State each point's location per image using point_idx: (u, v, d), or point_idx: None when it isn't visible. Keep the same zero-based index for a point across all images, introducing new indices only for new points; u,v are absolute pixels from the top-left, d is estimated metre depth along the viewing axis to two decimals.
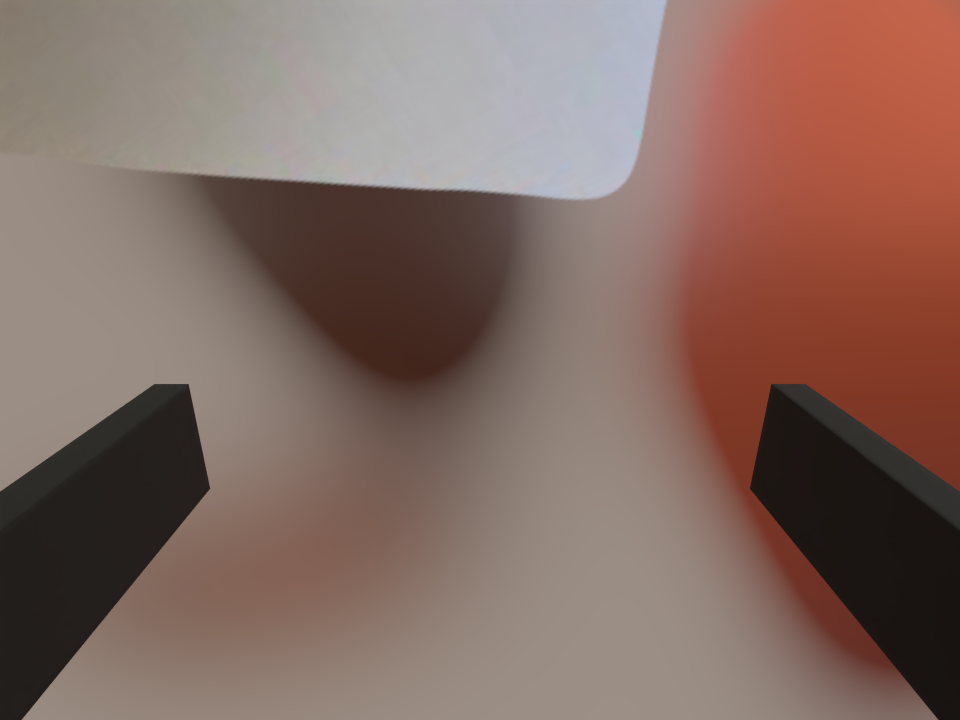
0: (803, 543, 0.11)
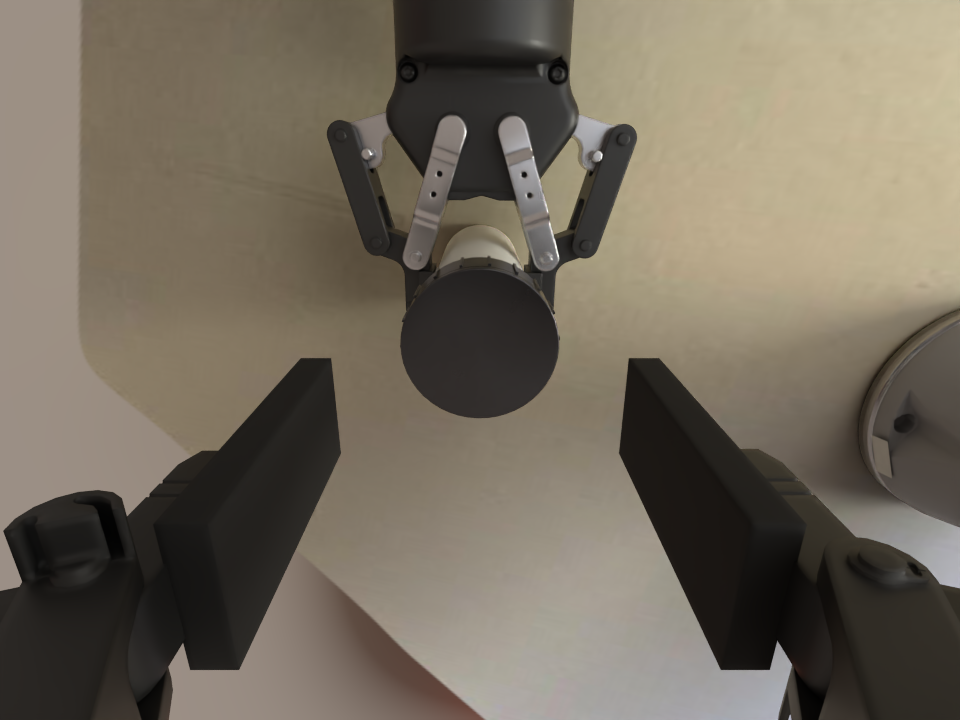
0: (642, 495, 0.12)
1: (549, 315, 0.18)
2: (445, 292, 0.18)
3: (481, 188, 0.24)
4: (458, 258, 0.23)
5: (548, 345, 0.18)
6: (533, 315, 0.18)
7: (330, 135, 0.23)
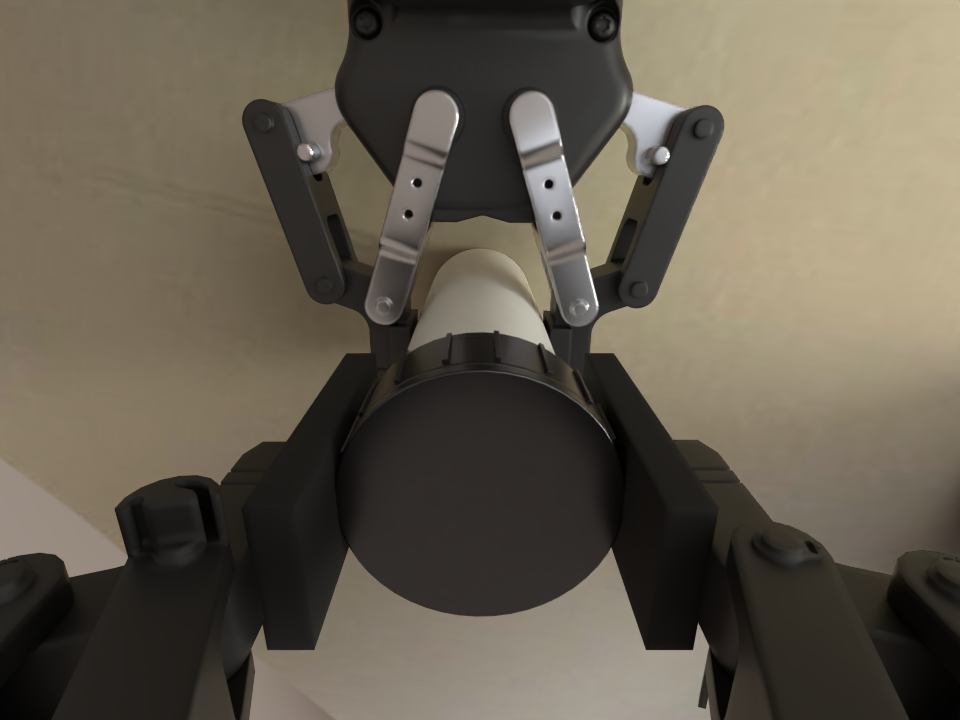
0: None
1: (610, 452, 0.10)
2: (415, 412, 0.09)
3: (482, 204, 0.16)
4: (446, 317, 0.14)
5: (606, 502, 0.10)
6: (580, 452, 0.10)
7: (247, 123, 0.15)
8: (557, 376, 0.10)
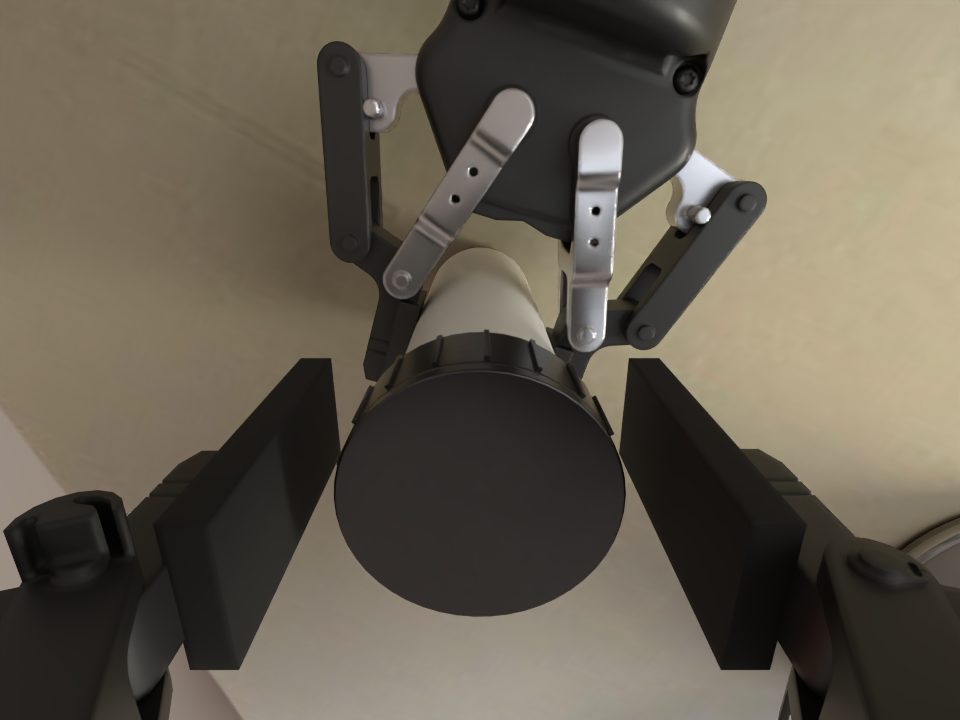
0: (643, 495, 0.12)
1: (532, 384, 0.09)
2: (362, 478, 0.10)
3: (526, 211, 0.16)
4: (469, 309, 0.14)
5: (573, 425, 0.09)
6: (509, 405, 0.09)
7: (322, 61, 0.15)
8: (446, 359, 0.10)
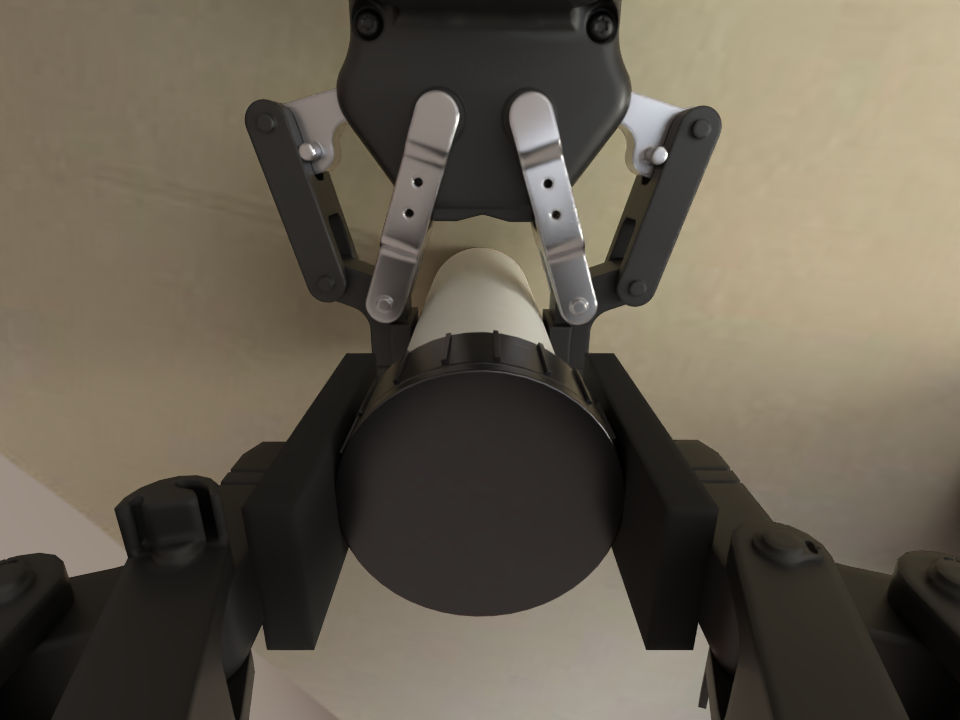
0: None
1: (491, 376, 0.09)
2: (361, 506, 0.10)
3: (482, 203, 0.16)
4: (446, 315, 0.14)
5: (543, 405, 0.09)
6: (475, 402, 0.09)
7: (250, 123, 0.15)
8: (408, 373, 0.10)
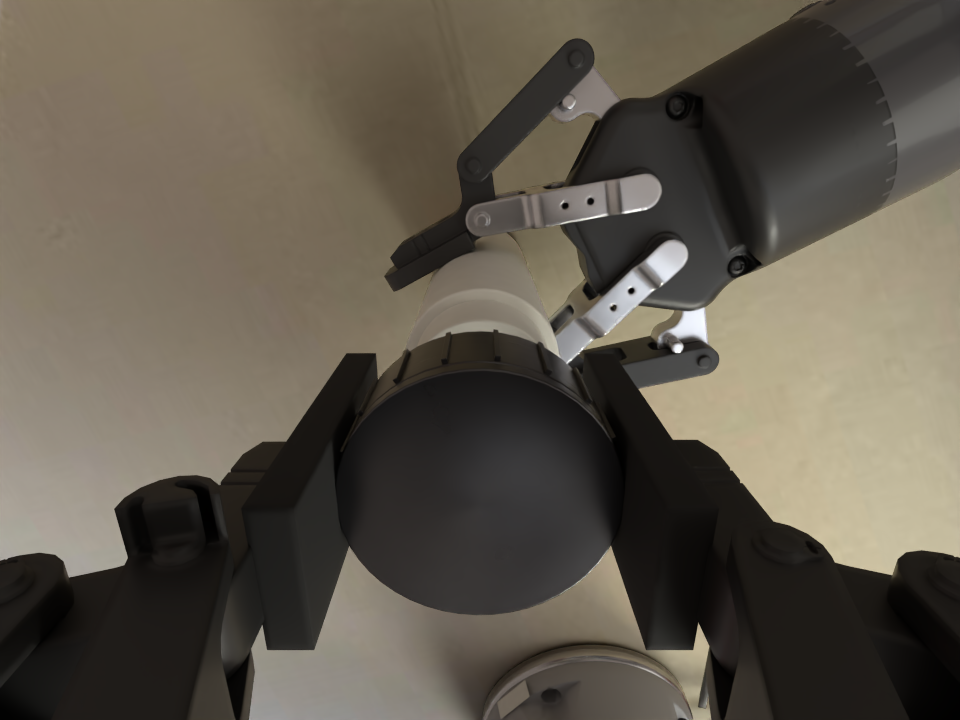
0: None
1: (490, 375, 0.09)
2: (361, 505, 0.10)
3: (592, 252, 0.20)
4: (523, 281, 0.18)
5: (543, 403, 0.09)
6: (475, 400, 0.09)
7: (570, 45, 0.18)
8: (408, 372, 0.10)
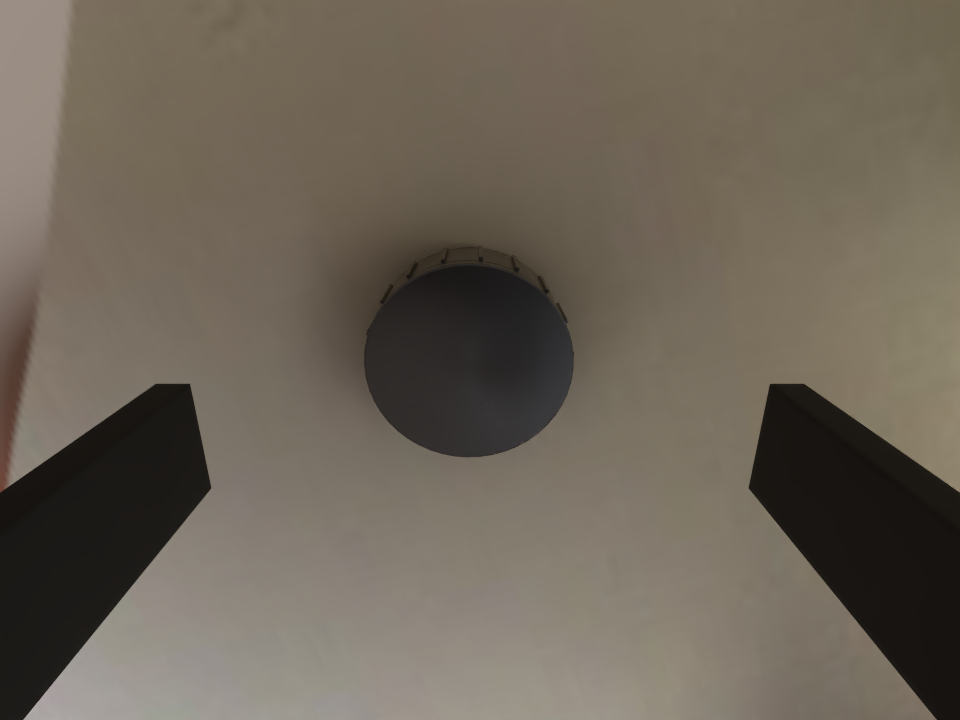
0: (801, 543, 0.11)
1: (475, 268, 0.13)
2: (383, 369, 0.14)
3: None
4: None
5: (513, 289, 0.13)
6: (464, 287, 0.13)
7: None
8: (416, 271, 0.14)
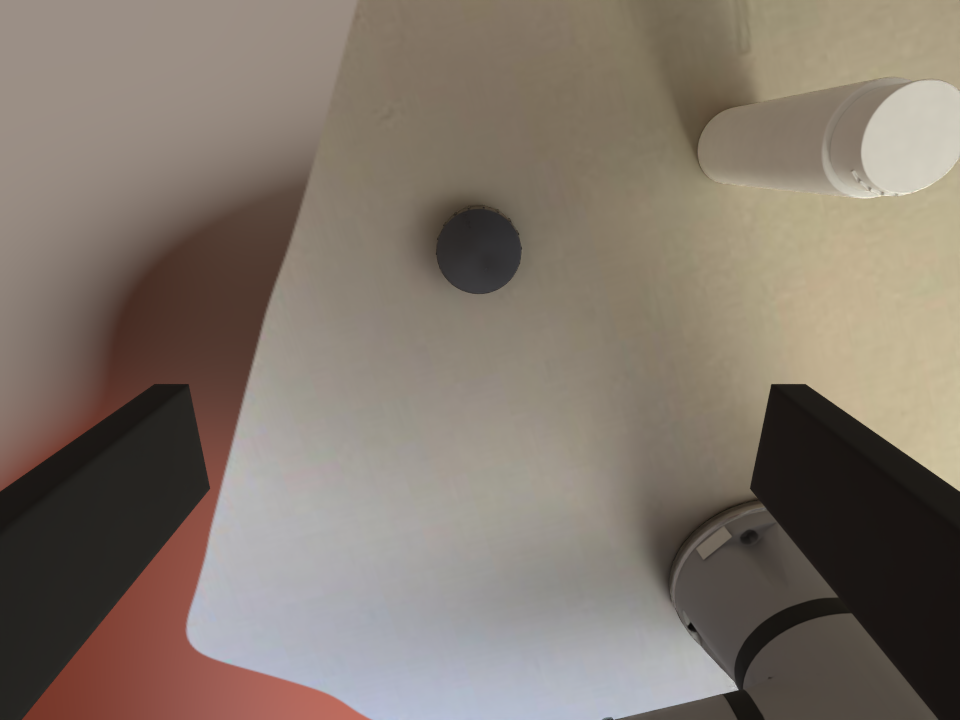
0: (803, 543, 0.11)
1: (481, 210, 0.34)
2: (444, 253, 0.34)
3: None
4: None
5: (496, 219, 0.34)
6: (477, 218, 0.34)
7: None
8: (458, 213, 0.34)
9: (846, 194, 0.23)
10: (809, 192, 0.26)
